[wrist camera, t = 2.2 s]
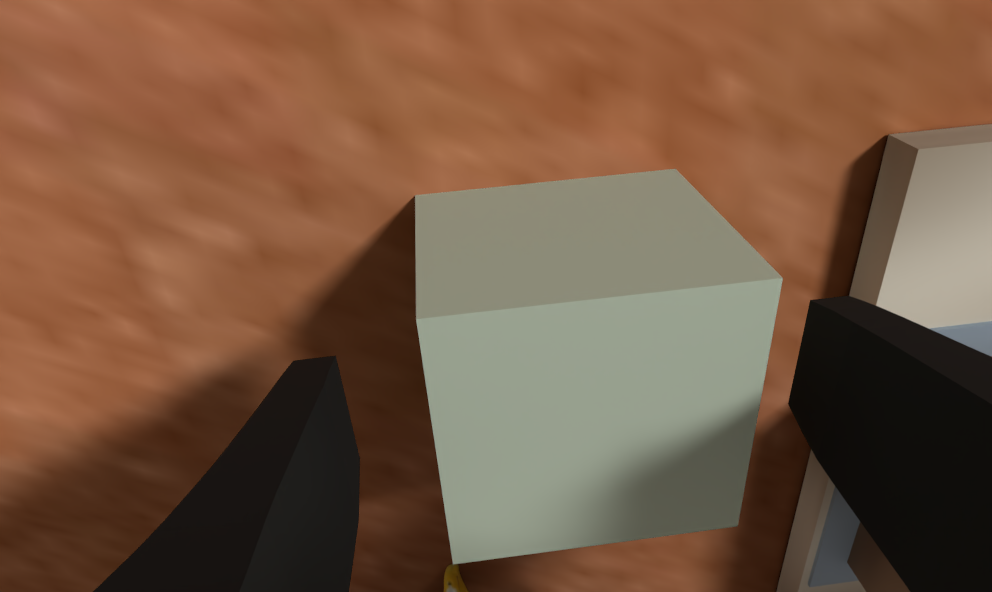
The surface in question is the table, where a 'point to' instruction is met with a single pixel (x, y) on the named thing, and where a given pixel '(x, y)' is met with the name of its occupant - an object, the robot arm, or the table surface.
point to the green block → (589, 360)
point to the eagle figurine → (453, 580)
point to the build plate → (907, 303)
